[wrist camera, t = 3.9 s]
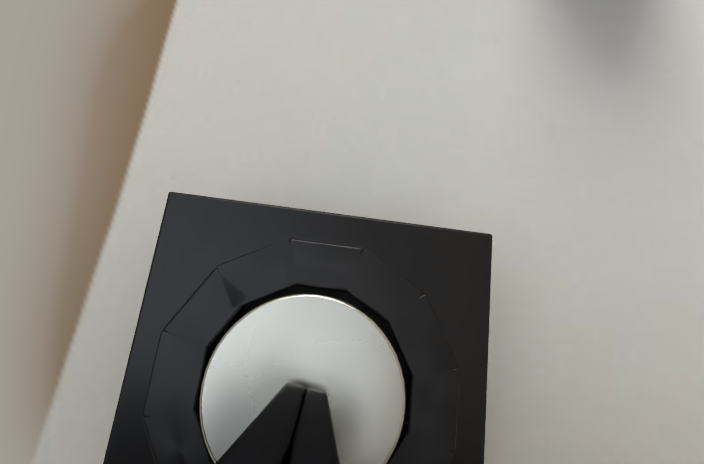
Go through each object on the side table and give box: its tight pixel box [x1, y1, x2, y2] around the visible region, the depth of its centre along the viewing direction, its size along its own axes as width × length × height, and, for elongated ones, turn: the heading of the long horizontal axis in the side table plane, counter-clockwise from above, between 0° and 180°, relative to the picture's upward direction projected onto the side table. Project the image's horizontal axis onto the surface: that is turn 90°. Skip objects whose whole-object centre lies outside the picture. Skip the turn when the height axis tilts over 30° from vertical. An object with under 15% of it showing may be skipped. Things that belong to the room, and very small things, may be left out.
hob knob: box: [199, 294, 406, 464], centre depth 10 cm, size 4×4×3 cm
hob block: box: [103, 192, 492, 464], centre depth 13 cm, size 10×10×6 cm
